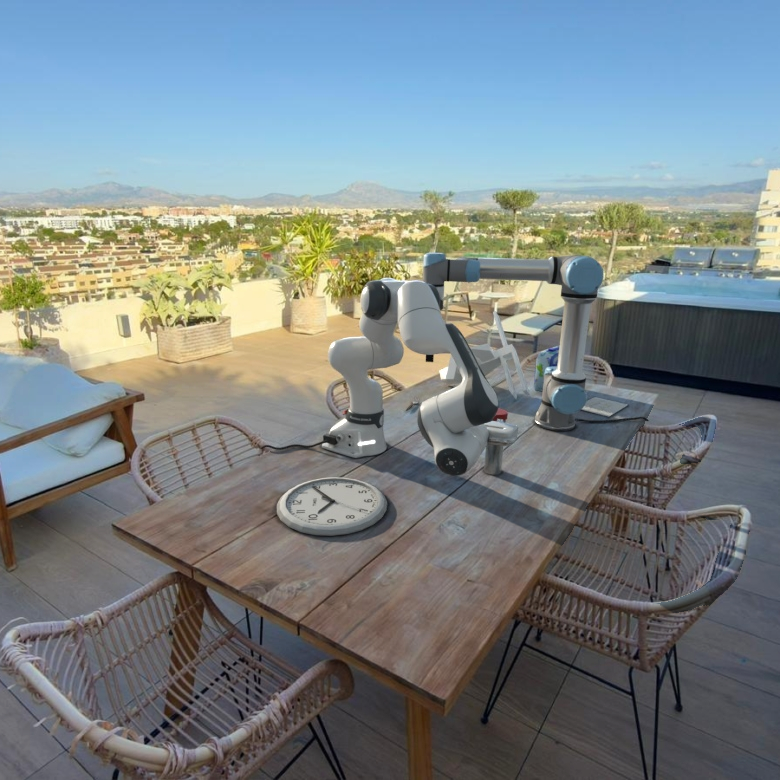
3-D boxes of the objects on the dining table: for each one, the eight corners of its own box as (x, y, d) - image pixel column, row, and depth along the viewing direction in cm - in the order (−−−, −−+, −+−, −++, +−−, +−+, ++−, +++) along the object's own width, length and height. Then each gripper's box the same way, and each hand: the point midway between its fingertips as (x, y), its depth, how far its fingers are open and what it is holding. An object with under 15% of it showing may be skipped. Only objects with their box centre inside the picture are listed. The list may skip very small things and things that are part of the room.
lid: (510, 417, 160) (511, 410, 159) (502, 422, 155) (502, 416, 155) (492, 412, 163) (492, 406, 163) (483, 418, 158) (484, 412, 158)
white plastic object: (461, 429, 252) (437, 405, 227) (444, 352, 274) (420, 323, 250) (535, 404, 240) (518, 377, 215) (510, 326, 262) (492, 293, 237)
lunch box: (550, 398, 235) (555, 353, 229) (529, 393, 243) (534, 349, 236) (577, 387, 253) (583, 345, 247) (557, 382, 260) (562, 341, 254)
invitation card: (608, 416, 214) (573, 407, 224) (608, 416, 214) (573, 408, 224) (628, 404, 229) (594, 396, 238) (628, 405, 229) (594, 397, 238)
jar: (503, 470, 165) (509, 412, 159) (496, 476, 161) (502, 417, 155) (488, 466, 168) (493, 408, 162) (481, 471, 164) (485, 413, 158)
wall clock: (392, 527, 129) (268, 531, 127) (391, 533, 130) (269, 537, 127) (383, 473, 158) (282, 475, 155) (383, 478, 158) (282, 480, 156)
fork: (403, 411, 216) (403, 406, 215) (414, 400, 230) (414, 395, 230) (409, 412, 215) (409, 407, 215) (420, 400, 229) (420, 396, 229)
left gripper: (514, 431, 121) (523, 413, 133) (430, 419, 128) (446, 403, 141) (512, 456, 123) (521, 436, 135) (429, 442, 130) (445, 425, 143)
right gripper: (424, 293, 195) (422, 349, 202) (419, 302, 172) (417, 365, 178) (444, 294, 195) (441, 350, 201) (442, 303, 171) (439, 366, 177)
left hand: (482, 419), depth 138 cm, fingers open, 8 cm apart
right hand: (430, 357), depth 190 cm, fingers open, 13 cm apart
